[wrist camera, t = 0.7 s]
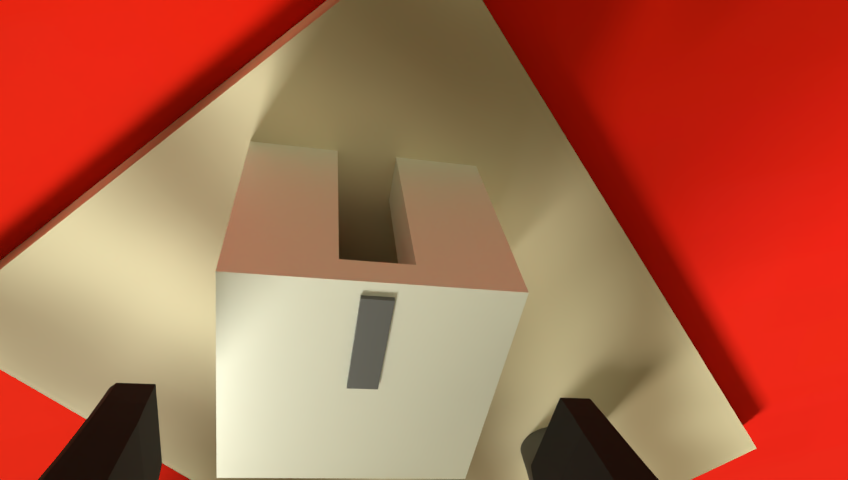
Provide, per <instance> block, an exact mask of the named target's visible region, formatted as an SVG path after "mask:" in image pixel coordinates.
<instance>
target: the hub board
mask: <svg viewBox="0 0 848 480" xmlns="http://www.w3.org/2000/svg"><path fill="white" fill-rule="evenodd" d="M250 141H253V142H262V143H271V144H280V145H290V146H299V147H308V148H317V149H326V150H335V151H338V227H339V259H344V260H357V261H370V262H384V263H397V264H398V259H397V252H396V245H395V239H394V232H393V225H392V218H391V211H390V204H389V197H390V191H391V185H392V179H393V173H394V167H395V161H396V157H399V158H408V159H418V160H427V161H436V162H445V163H454V164H463V165H472V166H476V167H477V169H478V172H479V174H480V177H481V179H482V181H483V184H484V186H485V189H486V191H487V193H488V196H489V198H490V201H491V203H492V205H493V208H494V210H495V213H496V215H497V217H498V220H499V222H500V225H501V227H502V229H503V232H504V234H505V237H506V239H507V241H508V244H509V246H510V249H511V251H512V253H513V256H514V258H515V261H516V263H517V265H518V268H519V270H520V273H521V275H522V277H523V280H524V282H525V285H526V287H527V289H528V292H529V294H528V297H527V300H526V303H525V306H524V308H523V311H522V314H521V317H520V320H519V323H518V326H517V329H516V332H515V335H514V338H513V341H512V344H511V346H510V349H509V352H508V355H507V358H506V361H505V364H504V367H503V370H502V373H501V376H500V379H499V382H498V384H497V387H496V390H495V393H494V396H493V399H492V402H491V405H490V408H489V411H488V414H487V417H486V420H485V422H484V425H483V428H482V431H481V434H480V437H479V440H478V443H477V446H476V449H475V452H474V455H473V457H472V460H471V463H470V466H469V469H468V472H467V475H466V478H465V479H368V478H217V463H216V275H215V271H216V268H217V264H218V260H219V256H220V252H221V249H222V245H223V241H224V237H225V234H226V230H227V226H228V222H229V219H230V215H231V211H232V207H233V204H234V200H235V196H236V192H237V189H238V185H239V181H240V177H241V174H242V170H243V166H244V162H245V159H246V155H247V151H248V147H249V143H250ZM0 369H1V370H2V371H4V372H6V373H7V374H9V375H11V376H13V377H14V378H16V379H18V380H20V381H21V382H23V383H25V384H26V385H28V386H30V387H32V388H33V389H35V390H37V391H39V392H40V393H42V394H44V395H45V396H47V397H49V398H51V399H52V400H54V401H56V402H58V403H59V404H61V405H63V406H64V407H66V408H68V409H70V410H71V411H73V412H75V413H77V414H78V415H80V416H82V417H83V418H85V419H87V418H88V417H89V415H90V414H91V413H92V411H93V410H94V409H95V407H96V406H97V405H98V403H99V402H100V400H101V399H102V398H103V396H104V395H105V393H106V392H107V390H108V389H109V388H110V387H111V386H112V385H114V384H115V383H139V384H156V395H157V407H158V419H159V431H160V443H161V456H162V463H163V464H165V465H166V466H168V467H170V468H172V469H173V470H175V471H177V472H178V473H180V474H182V475H184V476H185V477H187V478H189V479H191V480H533V476H532V470H531V464H532V462H533V459H534V457H535V455H536V452H537V450H538V448H539V445H540V443H541V441H542V438H543V436H544V434H545V432H546V429H547V427H548V425H549V422H550V420H551V418H552V415H553V413H554V411H555V408H556V406H557V404H558V401H559V399H560V398H589V399H591V400H592V401H593V403H594V404H595V405H596V406H597V407H598V408H599V410H600V411H601V412H602V413H603V414H604V415H605V417H606V418H607V419H608V420H609V421H610V423H611V424H612V425H613V426H614V427H615V429H616V430H617V431H618V432H619V433H620V435H621V436H622V437H623V438H624V439H625V441H626V442H627V443H628V444H629V445H630V447H631V448H632V449H633V450H634V451H635V452H636V454H637V455H638V456H639V457H640V458H641V460H642V461H643V462H644V463H645V464H646V465H647V467H648V468H649V469H650V470H651V471H652V472H653V474H654V475H655V476H656V477H657V478H658V479H659V480H691V479H693V478H695V477H697V476H699V475H701V474H703V473H706V472H708V471H710V470H712V469H714V468H716V467H718V466H720V465H722V464H725V463H727V462H729V461H731V460H733V459H735V458H737V457H739V456H741V455H744V454H746V453H748V452H750V451H752V450H754V449H756V446H755V445H754V443H753V442H752V440H751V438H750V437H749V435H748V433H747V432H746V430H745V428H744V427H743V425H742V424H741V422H740V420H739V419H738V417H737V415H736V414H735V412H734V411H733V409H732V407H731V406H730V404H729V402H728V401H727V399H726V397H725V396H724V394H723V393H722V391H721V389H720V388H719V386H718V384H717V383H716V381H715V379H714V378H713V376H712V375H711V373H710V371H709V370H708V368H707V366H706V365H705V363H704V362H703V360H702V358H701V357H700V355H699V353H698V352H697V350H696V348H695V347H694V345H693V344H692V342H691V340H690V339H689V337H688V335H687V334H686V332H685V330H684V329H683V327H682V326H681V324H680V322H679V321H678V319H677V317H676V316H675V314H674V313H673V311H672V309H671V308H670V306H669V304H668V303H667V301H666V299H665V298H664V296H663V295H662V293H661V291H660V290H659V288H658V286H657V285H656V283H655V281H654V280H653V278H652V277H651V275H650V273H649V272H648V270H647V268H646V267H645V265H644V264H643V262H642V260H641V259H640V257H639V255H638V254H637V252H636V250H635V249H634V247H633V246H632V244H631V242H630V241H629V239H628V237H627V236H626V234H625V233H624V231H623V229H622V228H621V226H620V224H619V223H618V221H617V219H616V218H615V216H614V215H613V213H612V211H611V210H610V208H609V206H608V205H607V203H606V201H605V200H604V198H603V197H602V195H601V193H600V192H599V190H598V188H597V187H596V185H595V184H594V182H593V180H592V179H591V177H590V175H589V174H588V172H587V170H586V169H585V167H584V166H583V164H582V162H581V161H580V159H579V157H578V156H577V154H576V152H575V151H574V149H573V148H572V146H571V144H570V143H569V141H568V139H567V138H566V136H565V135H564V133H563V131H562V130H561V128H560V126H559V125H558V123H557V121H556V120H555V118H554V117H553V115H552V113H551V112H550V110H549V108H548V107H547V105H546V103H545V102H544V100H543V99H542V97H541V95H540V94H539V92H538V90H537V89H536V87H535V86H534V84H533V82H532V81H531V79H530V77H529V76H528V74H527V72H526V71H525V69H524V68H523V66H522V64H521V63H520V61H519V59H518V58H517V56H516V55H515V53H514V51H513V50H512V48H511V46H510V45H509V43H508V41H507V40H506V38H505V37H504V35H503V33H502V32H501V30H500V28H499V27H498V25H497V23H496V22H495V20H494V19H493V17H492V15H491V14H490V12H489V10H488V9H487V7H486V6H485V4H484V2H483V1H482V0H326V1H325V2H324V3H323V4H321V5H320V6H319V7H318V8H316V9H315V10H314V11H313V12H311V13H310V14H309V15H308V16H306V17H305V18H304V19H302V20H301V21H300V22H299V23H297V24H296V25H295V26H294V27H292V28H291V29H290V30H289V31H287V32H286V33H285V34H284V35H282V36H281V37H280V38H279V39H277V40H276V41H275V42H274V43H272V44H271V45H270V46H269V47H267V48H266V49H265V50H264V51H262V52H261V53H260V54H259V55H257V56H256V57H255V58H254V59H252V60H251V61H250V62H249V63H247V64H246V65H245V66H244V67H242V68H241V69H240V70H239V71H237V72H236V73H235V74H233V75H232V76H231V77H230V78H228V79H227V80H226V81H225V82H223V83H222V84H221V85H220V86H218V87H217V88H216V89H215V90H213V91H212V92H211V93H210V94H208V95H207V96H206V97H205V98H203V99H202V100H201V101H200V102H198V103H197V104H196V105H195V106H193V107H192V108H191V109H190V110H188V111H187V112H186V113H185V114H183V115H182V116H181V117H180V118H178V119H177V120H176V121H175V122H173V123H172V124H171V125H170V126H168V127H167V128H166V129H165V130H163V131H162V132H161V133H159V134H158V135H157V136H156V137H154V138H153V139H152V140H151V141H149V142H148V143H147V144H146V145H144V146H143V147H142V148H141V149H139V150H138V151H137V152H136V153H134V154H133V155H132V156H131V157H129V158H128V159H127V160H126V161H124V162H123V163H122V164H121V165H119V166H118V167H117V168H116V169H114V170H113V171H112V172H111V173H109V174H108V175H107V176H106V177H104V178H103V179H102V180H101V181H99V182H98V183H97V184H96V185H94V186H93V187H92V188H90V189H89V190H88V191H87V192H85V193H84V194H83V195H82V196H80V197H79V198H78V199H77V200H75V201H74V202H73V203H72V204H70V205H69V206H68V207H67V208H65V209H64V210H63V211H62V212H60V213H59V214H58V215H57V216H55V217H54V218H53V219H52V220H50V221H49V222H48V223H47V224H45V225H44V226H43V227H42V228H40V229H39V230H38V231H37V232H35V233H34V234H33V235H32V236H30V237H29V238H28V239H27V240H25V241H24V242H23V243H22V244H20V245H19V246H18V247H16V248H15V249H14V250H13V251H11V252H10V253H9V254H8V255H6V256H5V257H4V258H3V259H1V260H0Z"/></svg>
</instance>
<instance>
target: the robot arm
mask: <svg viewBox="0 0 848 480" xmlns="http://www.w3.org/2000/svg"><path fill="white" fill-rule="evenodd" d="M161 465H162V456H161V443H160V431H159V419H158V407H157V395H156V384H139V383H115V384H114V385H112V386H111V387H110V388H109V389H108V390H107V392H106V393H105V395H104V396H103V398H102V399H101V400H100V402H99V403H98V405H97V406H96V407H95V409H94V410H93V411H92V413H91V414H90V415H89V417H88V418H87V419H86V421H85V422H84V423H83V425H82V426H81V427H80V429H79V430H78V431H77V433H76V434H75V435H74V436H73V438H72V439H71V440H70V441H69V443H68V444H67V445H66V446H65V448H64V449H63V450H62V451H61V453H60V454H59V455H58V457H57V458H56V459H55V460H54V461H53V463H52V464H51V465H50V466H49V467H48V468H47V470H46V471H45V472H44V473H43V474H42V476H41V477H40V478H39V479H38V480H158V479H159V475H160V470H161ZM531 470H532V476H533V480H659V479H658V478H657V477H656V476H655V475H654V474H653V472H652V471H651V470H650V469H649V468H648V467H647V465H646V464H645V463H644V462H643V461H642V460H641V458H640V457H639V456H638V455H637V454H636V452H635V451H634V450H633V449H632V448H631V447H630V445H629V444H628V443H627V442H626V441H625V439H624V438H623V437H622V436H621V435H620V433H619V432H618V431H617V430H616V429H615V427H614V426H613V425H612V424H611V423H610V421H609V420H608V419H607V418H606V417H605V415H604V414H603V413H602V412H601V411H600V410H599V408H598V407H597V406H596V405H595V404H594V403H593V401H592V400H591V399H589V398H560V399H559V401H558V404H557V406H556V408H555V411H554V413H553V415H552V418H551V420H550V422H549V425H548V427H547V429H546V432H545V434H544V436H543V438H542V441H541V443H540V445H539V448H538V450H537V452H536V455H535V457H534V459H533V462H532V464H531Z"/></svg>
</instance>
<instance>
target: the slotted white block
mask: <svg viewBox="0 0 848 480" xmlns="http://www.w3.org/2000/svg"><path fill="white" fill-rule="evenodd" d="M389 204H390V211H391V218H392V225H393V232H394V239H395V245H396V252H397V259H398V264H397V263H384V262H370V261H357V260H344V259H339V227H338V151H335V150H326V149H317V148H308V147H299V146H290V145H280V144H271V143H262V142H253V141H250V143H249V147H248V151H247V155H246V159H245V162H244V166H243V170H242V174H241V177H240V181H239V185H238V189H237V192H236V196H235V200H234V204H233V207H232V211H231V215H230V219H229V222H228V226H227V230H226V234H225V237H224V241H223V245H222V249H221V252H220V256H219V260H218V264H217V268H216V271H215V275H216V463H217V478H368V479H465V478H466V475H467V472H468V469H469V466H470V463H471V460H472V457H473V455H474V452H475V449H476V446H477V443H478V440H479V437H480V434H481V431H482V428H483V425H484V422H485V420H486V417H487V414H488V411H489V408H490V405H491V402H492V399H493V396H494V393H495V390H496V387H497V384H498V382H499V379H500V376H501V373H502V370H503V367H504V364H505V361H506V358H507V355H508V352H509V349H510V346H511V344H512V341H513V338H514V335H515V332H516V329H517V326H518V323H519V320H520V317H521V314H522V311H523V308H524V306H525V303H526V300H527V297H528V294H529V292H528V289H527V287H526V285H525V282H524V280H523V277H522V275H521V273H520V270H519V268H518V265H517V263H516V261H515V258H514V256H513V253H512V251H511V249H510V246H509V244H508V241H507V239H506V237H505V234H504V232H503V229H502V227H501V225H500V222H499V220H498V217H497V215H496V213H495V210H494V208H493V205H492V203H491V201H490V198H489V196H488V193H487V191H486V189H485V186H484V184H483V181H482V179H481V177H480V174H479V172H478V169H477V167H476V166H472V165H463V164H454V163H445V162H436V161H427V160H418V159H408V158H399V157H396V161H395V167H394V173H393V179H392V185H391V191H390V197H389Z"/></svg>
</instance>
